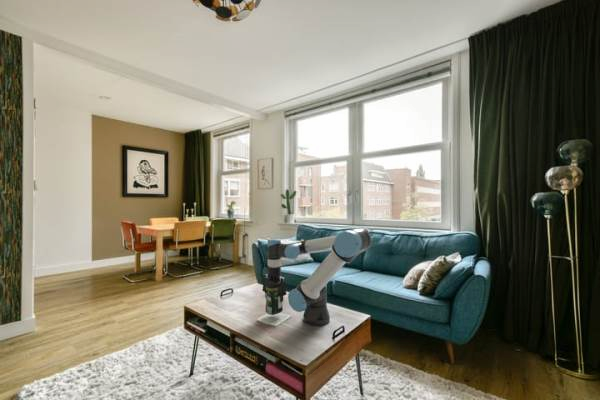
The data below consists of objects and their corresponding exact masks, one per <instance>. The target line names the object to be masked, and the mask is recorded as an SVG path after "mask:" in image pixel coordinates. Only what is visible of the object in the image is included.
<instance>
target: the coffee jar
mask: <svg viewBox="0 0 600 400" xmlns="http://www.w3.org/2000/svg"><path fill="white" fill-rule="evenodd" d="M278 282H279V281H278ZM278 282H277V284H276V283H275V282H274V281H273V280H270V281H267V282H266V291H267V298H265V312H266V314H269V315H275V314H278V313H282V312H283V311H284V309H283V305H284V304H282V307H281V308H278V296H280V295H279V292H278V285H279V286H281V283H280V282H279V283H278Z"/></svg>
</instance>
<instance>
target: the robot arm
mask: <svg viewBox="0 0 600 400" xmlns="http://www.w3.org/2000/svg"><path fill="white" fill-rule="evenodd" d="M371 244H372V237H371V235H370V233H369V232H368V231H367V230H365V229H364V228H359V227H358V228H353V229H346V230H343V231H342V232H341V231H340V233H338V234H337V235H333V236H332V235H331V236H326V237H319V238H314V239H308V240H307V239H306V240H300V241H295V242H291V243H282V240H281V239H280V238H270V239H268V240H267V247H266V248H267V273H266V274H264V275H263V282H262V292H263V293H264V297H265V299H266V298H267V291H266V282H267V281H270V280H273V281H274V282H275V283H276V284H277V282H278V281H279V282H280V283H281V286H279V285H278V292H279V295H280V296H278V308H281V307H282V305H283V302H284V296H286V295H287V289H286V283H285V281H286V277H283V276H281V271H282V268H281V264H282V263H281V261H282V258H284V259H290V260H291V259H292V260H293V259H294V260H295V259H298V257H299V256H302V255H307V254H314V253H322V252H329V254H328V255H326V257H325V258H324V259H323V261H322V262H320V264H319V265H318V266H317V268H316V269H315V270H314V271H313V272H312V273H311V275H310V276H309V277H308V278H306V279H303V280H302V281H301V282H300V283H299V284H298V285H297V286H296V287H295V288H292V289H291V290H290V291H289V292H288V295H287V299H288V304H289V307H291V309H292V310H293V311H295V312H297V313H302V312H303V316H302V320H303V322H304V323H305V324H307V325H309V326H310V325H311V326H324V325H327V324H328V323H330V322H331V316H330V313H329V310H328V305H327V303H328V301H327V300H328V298H327V297H328V292H327V291H328V288H327V287H328V286H327V284H328V283H329V282H330V281H331V279H333V277H334V276H335V275H336V274H337V273H339V271H340V270H341V269H342V267H344V266H345V264H351V262H352V261H354V259H356V257H357V256H358V255H359V254H361V253H363V252H366V251H367V250H368V249H369V248H370V247H371ZM279 282H278V283H279Z"/></svg>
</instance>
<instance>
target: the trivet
mask: <svg viewBox="0 0 600 400" xmlns="http://www.w3.org/2000/svg"><path fill="white" fill-rule="evenodd" d="M291 318H292V315H288V314H286V313H282V312H280V313H278V314H275V315H269V314H267V313H266V314H263V315H262V316H260V317H259V318H257V319H256V321H257V322H260V323H262V324H266V325H269V326H273V327H275V328H276V327H279V326H280V325H282V324H283V323H285V322H286V321H288V320H289V319H291Z"/></svg>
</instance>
